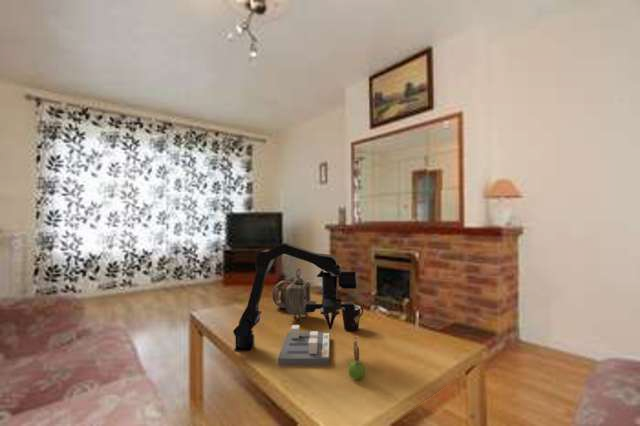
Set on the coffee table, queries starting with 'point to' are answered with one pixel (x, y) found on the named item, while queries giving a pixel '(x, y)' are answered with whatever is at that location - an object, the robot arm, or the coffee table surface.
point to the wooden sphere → (280, 293)
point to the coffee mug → (351, 319)
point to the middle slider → (314, 335)
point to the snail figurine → (356, 364)
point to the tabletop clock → (297, 297)
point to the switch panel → (304, 351)
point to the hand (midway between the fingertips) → (330, 328)
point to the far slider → (295, 331)
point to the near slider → (312, 345)
